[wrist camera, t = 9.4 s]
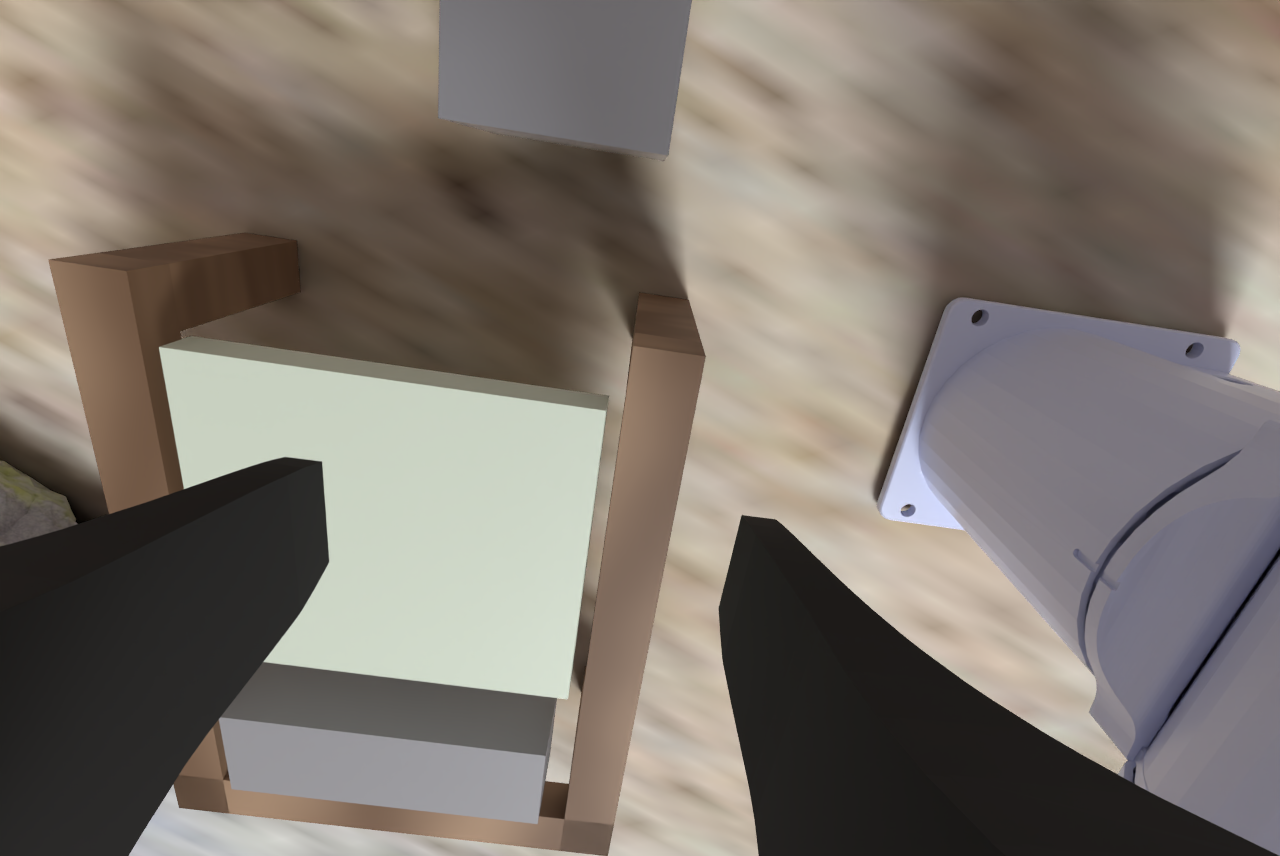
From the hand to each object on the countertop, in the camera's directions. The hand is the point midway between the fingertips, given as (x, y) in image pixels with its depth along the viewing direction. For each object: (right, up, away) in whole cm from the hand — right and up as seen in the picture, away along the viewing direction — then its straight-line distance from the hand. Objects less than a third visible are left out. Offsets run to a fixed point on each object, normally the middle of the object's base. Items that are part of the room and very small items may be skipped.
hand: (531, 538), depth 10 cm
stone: (0, +12, +6) cm, 14 cm away
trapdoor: (-5, -3, +7) cm, 9 cm away
